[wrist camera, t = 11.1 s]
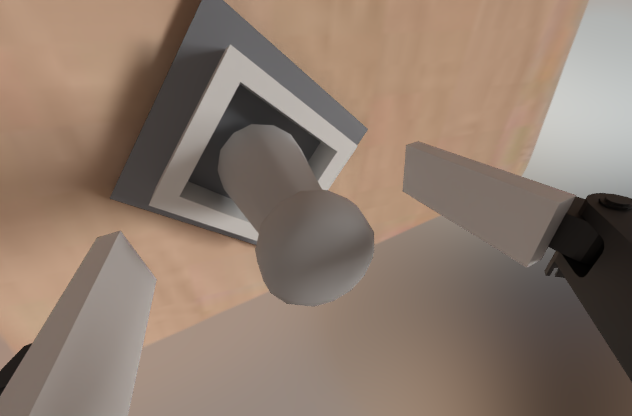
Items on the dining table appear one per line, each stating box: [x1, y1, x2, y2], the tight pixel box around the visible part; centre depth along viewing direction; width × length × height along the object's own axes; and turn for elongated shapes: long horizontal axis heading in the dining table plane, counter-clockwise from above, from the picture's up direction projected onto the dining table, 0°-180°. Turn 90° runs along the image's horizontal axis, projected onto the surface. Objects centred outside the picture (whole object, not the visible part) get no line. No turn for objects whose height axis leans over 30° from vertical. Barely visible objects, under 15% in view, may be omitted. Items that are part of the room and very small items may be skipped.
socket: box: [110, 0, 368, 245], centre depth 18 cm, size 14×14×4 cm
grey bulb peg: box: [218, 124, 374, 306], centre depth 13 cm, size 6×6×13 cm
